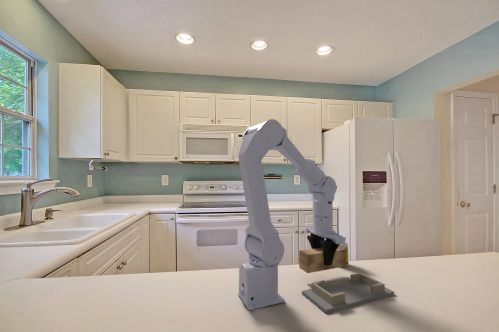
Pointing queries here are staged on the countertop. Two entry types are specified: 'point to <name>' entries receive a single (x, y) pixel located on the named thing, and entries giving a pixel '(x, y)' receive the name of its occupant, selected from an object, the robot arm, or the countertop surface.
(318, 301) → the cap board
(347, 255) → the supplement bottle
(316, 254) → the oak slat
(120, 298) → the countertop surface
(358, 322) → the countertop surface
